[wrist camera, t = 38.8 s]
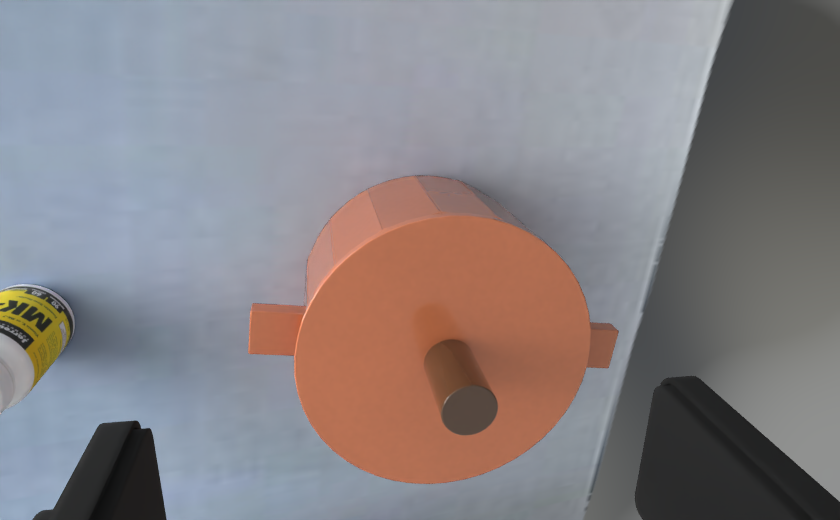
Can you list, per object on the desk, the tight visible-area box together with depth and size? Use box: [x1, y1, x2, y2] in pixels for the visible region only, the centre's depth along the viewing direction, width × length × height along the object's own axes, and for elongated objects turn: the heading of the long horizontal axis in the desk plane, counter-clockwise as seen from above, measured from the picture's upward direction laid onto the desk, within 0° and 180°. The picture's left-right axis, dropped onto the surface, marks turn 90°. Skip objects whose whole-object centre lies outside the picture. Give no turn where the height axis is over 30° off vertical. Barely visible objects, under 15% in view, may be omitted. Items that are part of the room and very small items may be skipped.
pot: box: [248, 176, 618, 368], centre depth 35 cm, size 14×20×8 cm
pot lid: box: [294, 213, 591, 484], centre depth 29 cm, size 15×15×6 cm
